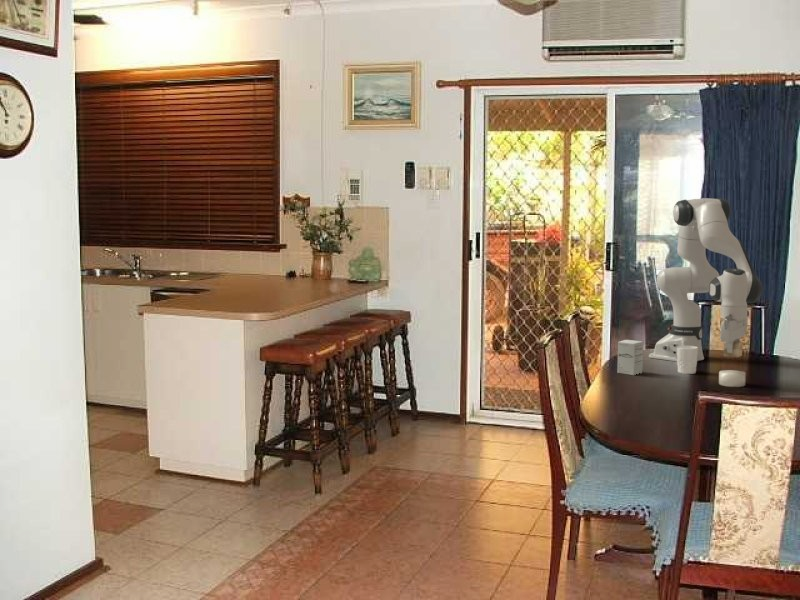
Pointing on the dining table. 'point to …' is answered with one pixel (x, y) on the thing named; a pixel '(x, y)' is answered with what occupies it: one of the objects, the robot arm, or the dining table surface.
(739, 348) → the beech block
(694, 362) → the white cup
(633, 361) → the supplement box
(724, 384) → the white rounded lump
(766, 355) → the dining table surface
